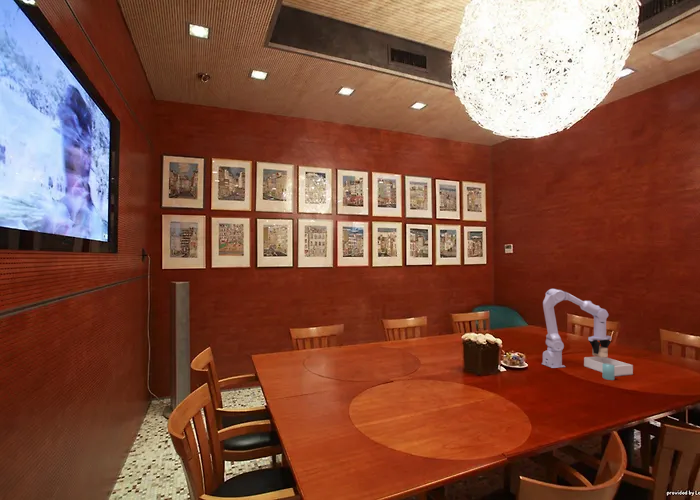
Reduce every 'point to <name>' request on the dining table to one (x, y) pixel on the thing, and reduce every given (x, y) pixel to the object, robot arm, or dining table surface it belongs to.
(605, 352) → the beech cube
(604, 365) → the teal cylinder
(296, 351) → the dining table surface
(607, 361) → the tote
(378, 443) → the dining table surface
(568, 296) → the robot arm
